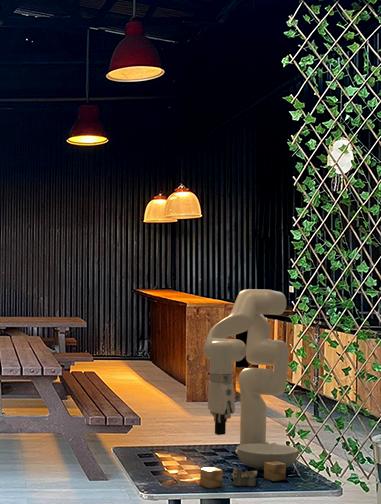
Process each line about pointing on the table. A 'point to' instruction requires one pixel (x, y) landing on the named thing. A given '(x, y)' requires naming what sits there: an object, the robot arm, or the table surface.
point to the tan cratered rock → (244, 477)
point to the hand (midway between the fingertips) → (220, 434)
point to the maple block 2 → (275, 470)
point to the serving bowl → (266, 454)
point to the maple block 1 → (211, 477)
